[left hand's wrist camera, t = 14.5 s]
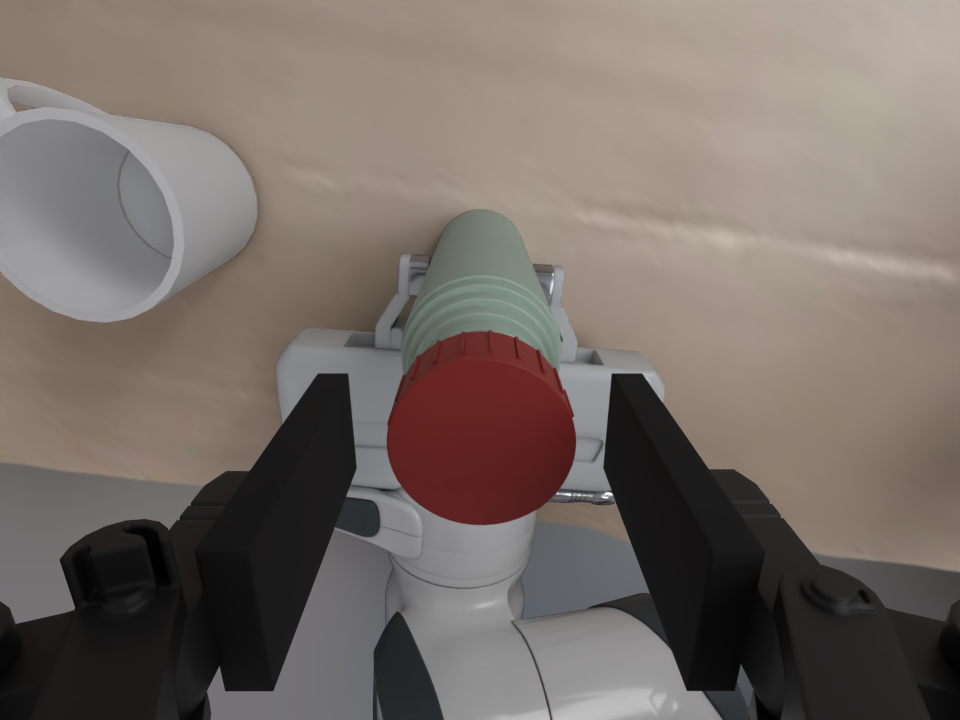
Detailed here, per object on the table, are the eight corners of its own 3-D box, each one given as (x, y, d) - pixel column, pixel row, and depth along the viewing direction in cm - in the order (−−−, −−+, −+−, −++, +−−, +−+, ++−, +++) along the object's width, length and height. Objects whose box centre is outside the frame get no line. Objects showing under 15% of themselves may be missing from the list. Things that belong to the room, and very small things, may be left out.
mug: (298, 223, 34) (227, 256, 25) (186, 298, 36) (79, 357, 26) (172, 46, 31) (33, 6, 21) (55, 139, 33) (-123, 140, 23)
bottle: (441, 205, 34) (372, 321, 12) (529, 214, 34) (612, 344, 13) (434, 291, 36) (365, 522, 14) (518, 299, 36) (574, 539, 15)
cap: (400, 319, 14) (387, 346, 12) (579, 336, 14) (594, 366, 12) (392, 474, 16) (380, 519, 14) (553, 488, 16) (563, 534, 14)
